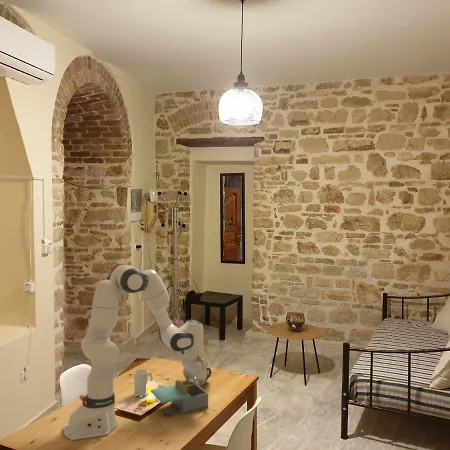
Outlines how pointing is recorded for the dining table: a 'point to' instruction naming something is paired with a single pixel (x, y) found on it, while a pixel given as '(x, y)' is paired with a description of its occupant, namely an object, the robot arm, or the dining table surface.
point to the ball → (168, 411)
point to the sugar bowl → (201, 382)
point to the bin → (193, 400)
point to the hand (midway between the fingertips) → (194, 381)
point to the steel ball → (192, 381)
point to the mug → (141, 381)
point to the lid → (171, 392)
